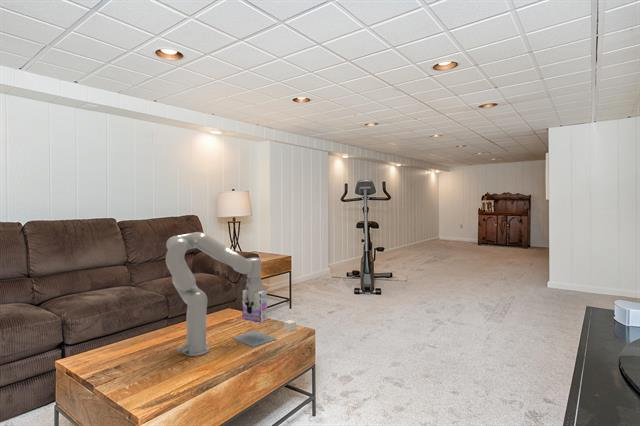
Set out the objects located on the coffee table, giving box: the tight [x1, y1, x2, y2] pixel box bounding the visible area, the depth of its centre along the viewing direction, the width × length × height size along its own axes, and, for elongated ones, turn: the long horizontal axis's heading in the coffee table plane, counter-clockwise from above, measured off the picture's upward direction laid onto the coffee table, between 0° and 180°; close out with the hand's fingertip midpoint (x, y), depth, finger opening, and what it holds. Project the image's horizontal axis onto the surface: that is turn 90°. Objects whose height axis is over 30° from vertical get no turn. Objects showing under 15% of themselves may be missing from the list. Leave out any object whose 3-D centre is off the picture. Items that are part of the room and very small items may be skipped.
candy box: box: [241, 289, 268, 324], centre depth 200 cm, size 14×6×16 cm, turn 58°
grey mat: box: [231, 330, 278, 348], centre depth 200 cm, size 16×20×1 cm
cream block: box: [283, 319, 297, 333], centre depth 216 cm, size 5×5×5 cm
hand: (254, 311), depth 200 cm, fingers closed on candy box, 6 cm apart
